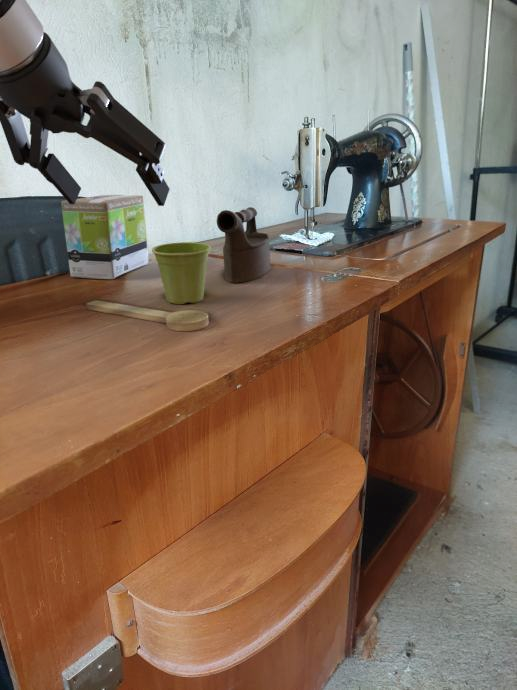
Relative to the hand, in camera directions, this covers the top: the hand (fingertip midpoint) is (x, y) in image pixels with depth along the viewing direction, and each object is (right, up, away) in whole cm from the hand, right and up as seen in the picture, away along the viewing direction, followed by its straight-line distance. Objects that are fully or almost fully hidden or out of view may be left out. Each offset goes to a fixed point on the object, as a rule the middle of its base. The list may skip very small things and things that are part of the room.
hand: (118, 196), depth 69 cm
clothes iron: (+15, -6, +32) cm, 36 cm away
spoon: (+1, -15, +9) cm, 18 cm away
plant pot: (+6, -12, +17) cm, 22 cm away
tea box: (-12, -4, +39) cm, 41 cm away
